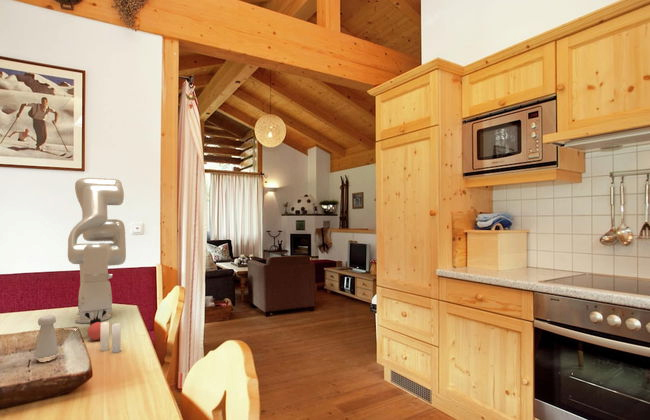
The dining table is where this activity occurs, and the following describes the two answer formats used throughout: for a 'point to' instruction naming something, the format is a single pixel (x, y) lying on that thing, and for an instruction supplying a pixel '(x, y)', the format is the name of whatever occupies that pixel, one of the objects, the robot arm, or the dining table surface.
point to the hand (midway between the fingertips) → (95, 330)
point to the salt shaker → (46, 338)
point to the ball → (94, 331)
